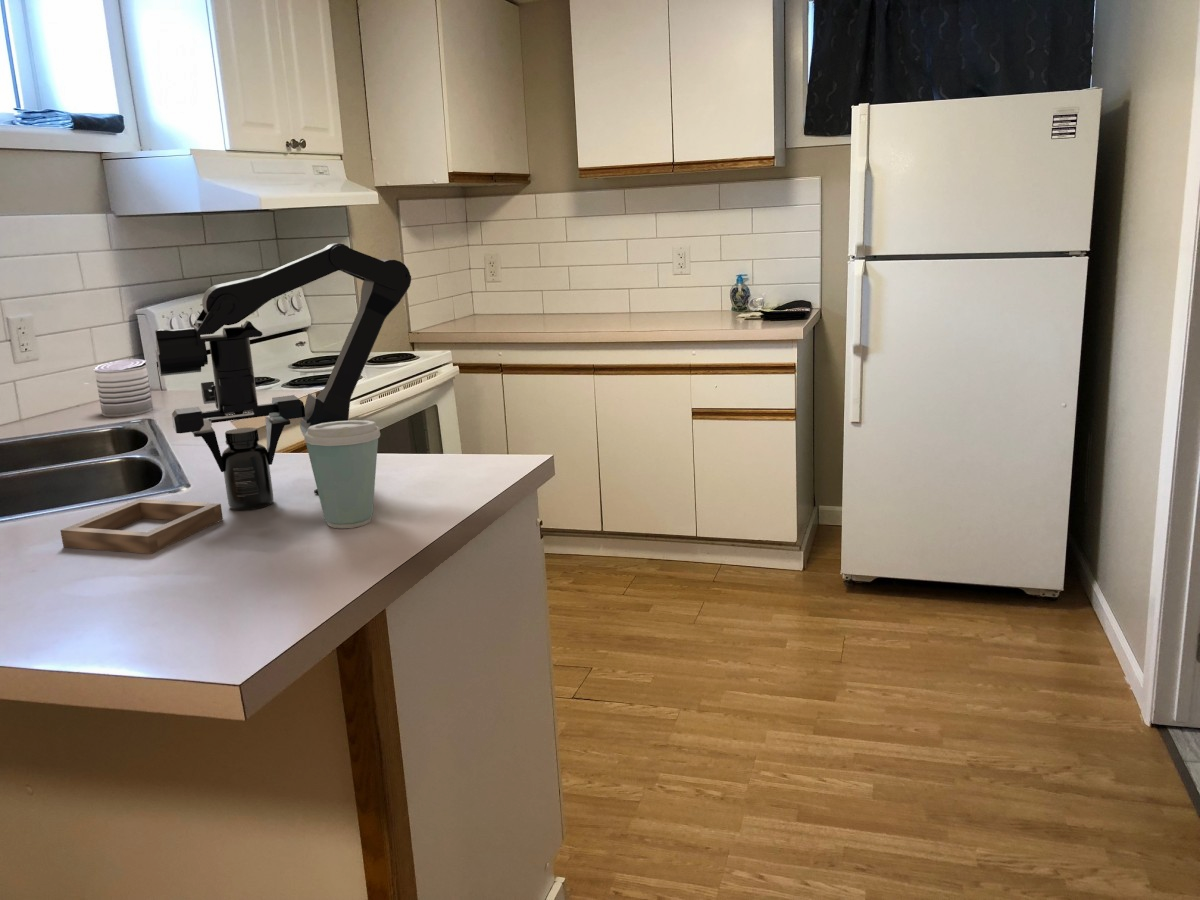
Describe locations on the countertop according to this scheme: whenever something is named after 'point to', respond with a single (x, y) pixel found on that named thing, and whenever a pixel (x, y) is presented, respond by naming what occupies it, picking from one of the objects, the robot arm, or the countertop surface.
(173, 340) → the robot arm
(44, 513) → the countertop surface
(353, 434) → the disposable coffee cup
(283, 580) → the countertop surface
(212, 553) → the countertop surface
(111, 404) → the white ridged cylinder
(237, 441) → the supplement bottle
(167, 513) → the square wooden frame
